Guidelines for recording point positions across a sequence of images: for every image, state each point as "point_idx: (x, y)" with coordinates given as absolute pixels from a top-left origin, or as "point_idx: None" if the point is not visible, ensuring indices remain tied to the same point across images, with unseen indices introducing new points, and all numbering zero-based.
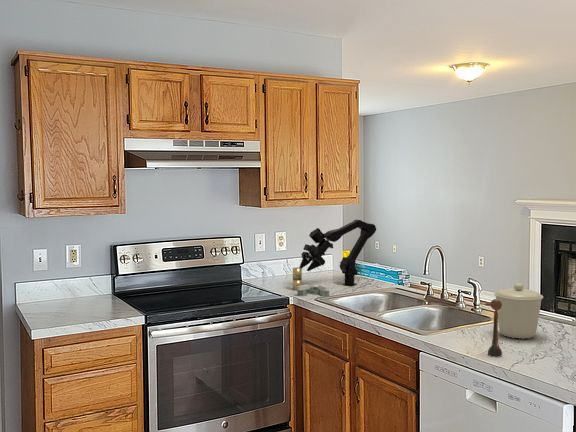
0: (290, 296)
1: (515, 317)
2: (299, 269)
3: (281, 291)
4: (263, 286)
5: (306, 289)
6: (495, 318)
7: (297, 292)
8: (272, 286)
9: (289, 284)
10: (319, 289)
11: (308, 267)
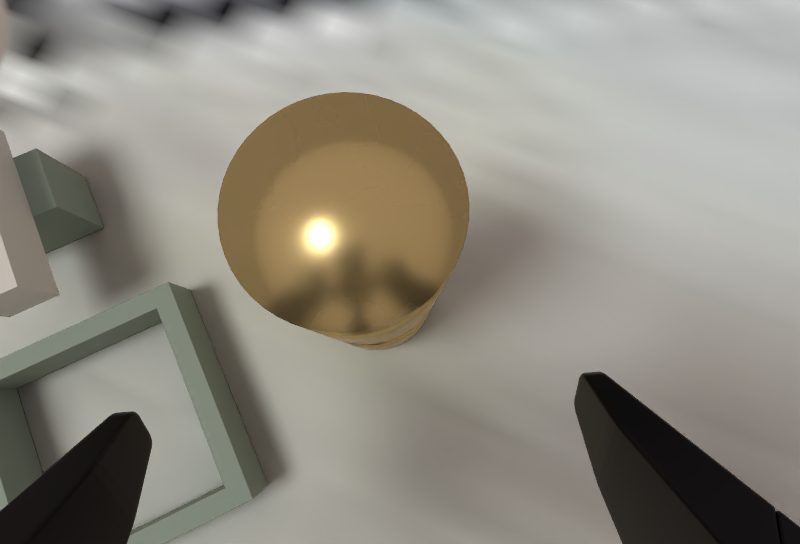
0: (58, 88)
1: None
2: (224, 226)
3: None
4: (694, 19)
5: (109, 310)
6: None
7: (62, 165)
8: (668, 105)
9: (750, 338)
10: (142, 527)
11: (66, 476)
